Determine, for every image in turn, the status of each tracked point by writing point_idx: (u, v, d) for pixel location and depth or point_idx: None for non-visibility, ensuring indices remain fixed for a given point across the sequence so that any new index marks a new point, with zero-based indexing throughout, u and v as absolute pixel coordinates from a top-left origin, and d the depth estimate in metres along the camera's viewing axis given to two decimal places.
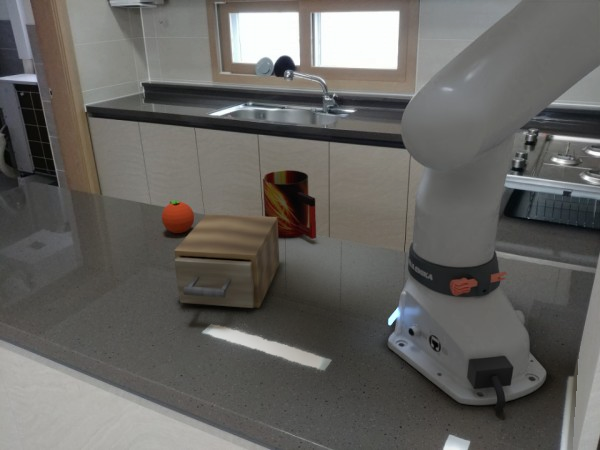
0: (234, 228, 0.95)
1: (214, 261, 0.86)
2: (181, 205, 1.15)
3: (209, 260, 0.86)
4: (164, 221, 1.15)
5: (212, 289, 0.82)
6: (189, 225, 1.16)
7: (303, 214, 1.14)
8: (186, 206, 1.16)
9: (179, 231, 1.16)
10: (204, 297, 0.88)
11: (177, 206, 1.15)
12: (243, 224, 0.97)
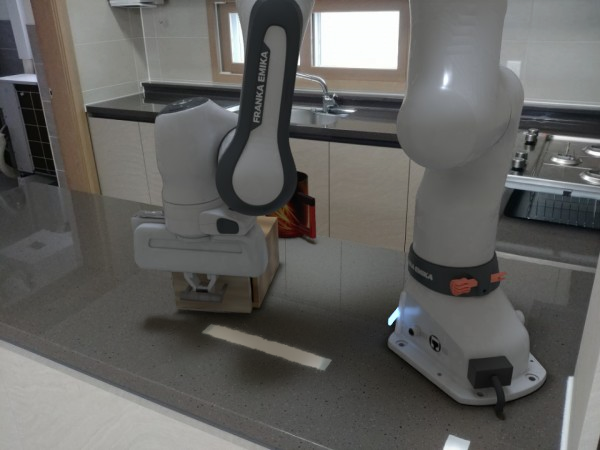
0: None
1: None
2: None
3: None
4: None
5: (209, 294, 0.81)
6: None
7: (303, 214, 1.14)
8: None
9: None
10: (201, 302, 0.87)
11: None
12: None
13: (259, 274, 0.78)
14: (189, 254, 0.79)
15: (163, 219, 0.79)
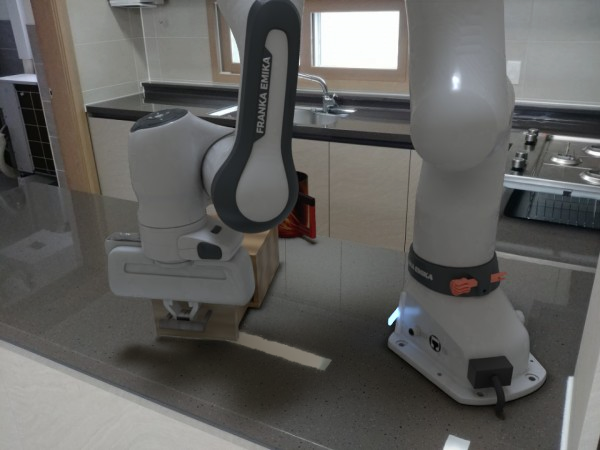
0: None
1: None
2: None
3: None
4: None
5: (190, 323, 0.74)
6: None
7: (303, 214, 1.14)
8: None
9: None
10: None
11: None
12: None
13: (245, 302, 0.71)
14: (168, 280, 0.72)
15: (140, 242, 0.72)
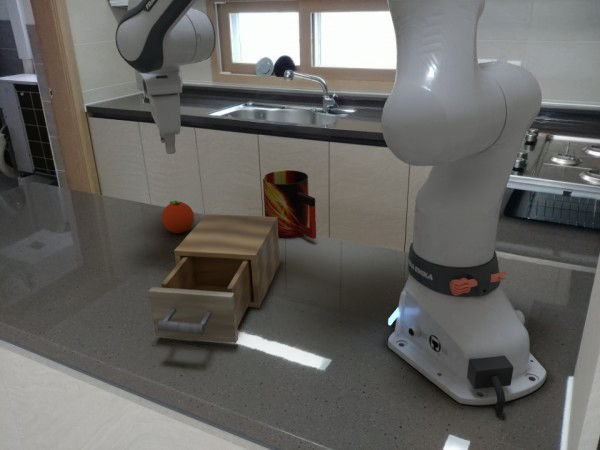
0: (234, 228, 0.95)
1: (192, 292, 0.77)
2: (181, 205, 1.15)
3: (187, 290, 0.77)
4: (164, 221, 1.15)
5: (189, 324, 0.73)
6: (189, 225, 1.16)
7: (303, 214, 1.14)
8: (186, 206, 1.16)
9: (179, 231, 1.16)
10: None
11: (177, 206, 1.15)
12: (243, 224, 0.97)
13: (161, 132, 1.00)
14: (153, 109, 1.08)
15: None
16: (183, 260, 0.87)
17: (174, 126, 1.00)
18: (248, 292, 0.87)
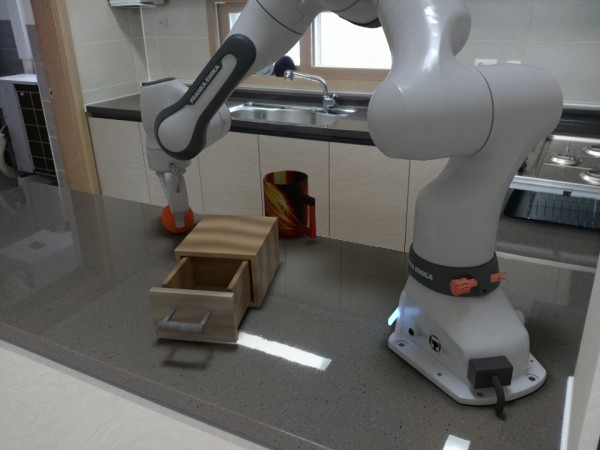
0: (234, 228, 0.95)
1: (192, 292, 0.77)
2: None
3: (187, 290, 0.77)
4: (164, 221, 1.15)
5: (189, 324, 0.73)
6: (189, 225, 1.16)
7: (303, 214, 1.14)
8: None
9: (179, 231, 1.16)
10: None
11: None
12: (243, 224, 0.97)
13: None
14: None
15: None
16: (183, 260, 0.87)
17: None
18: (248, 292, 0.87)
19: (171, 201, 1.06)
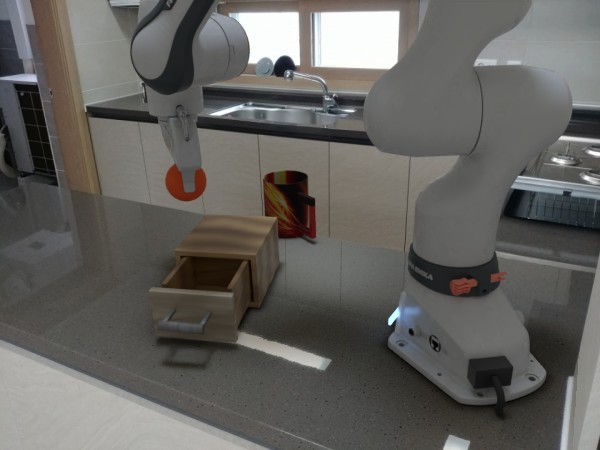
0: (234, 228, 0.95)
1: (192, 292, 0.77)
2: None
3: (187, 290, 0.77)
4: (168, 185, 0.89)
5: (189, 324, 0.73)
6: (200, 190, 0.90)
7: (303, 214, 1.14)
8: None
9: (187, 198, 0.90)
10: None
11: None
12: (243, 224, 0.97)
13: None
14: None
15: None
16: (183, 260, 0.87)
17: None
18: (248, 292, 0.87)
19: (178, 153, 0.80)
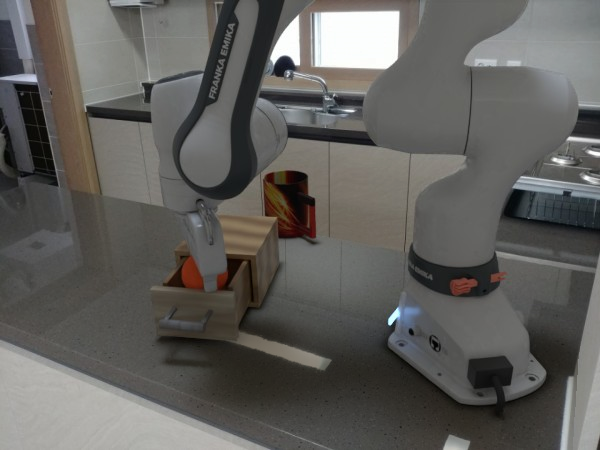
0: (234, 228, 0.95)
1: (193, 290, 0.77)
2: None
3: (188, 289, 0.78)
4: (186, 281, 0.78)
5: (190, 323, 0.74)
6: (222, 286, 0.80)
7: (303, 214, 1.14)
8: None
9: None
10: None
11: None
12: (243, 224, 0.97)
13: None
14: None
15: None
16: (184, 259, 0.87)
17: None
18: (249, 291, 0.87)
19: (201, 258, 0.69)
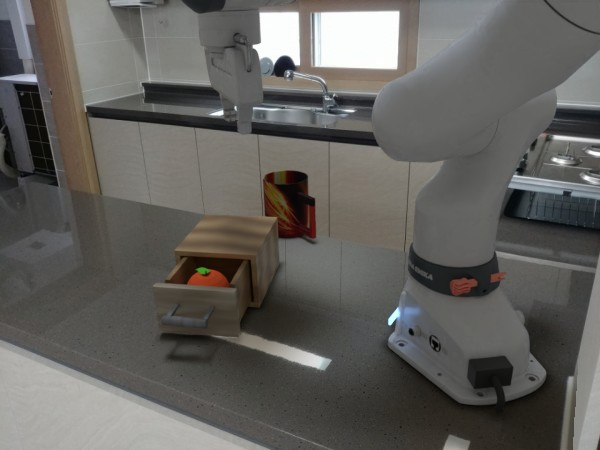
0: (234, 228, 0.95)
1: (196, 287, 0.78)
2: (214, 276, 0.82)
3: (191, 286, 0.79)
4: None
5: (193, 319, 0.75)
6: None
7: (303, 214, 1.14)
8: (220, 276, 0.82)
9: None
10: None
11: (209, 278, 0.81)
12: (243, 224, 0.97)
13: None
14: None
15: None
16: (186, 256, 0.88)
17: None
18: (250, 288, 0.88)
19: (238, 85, 0.71)
